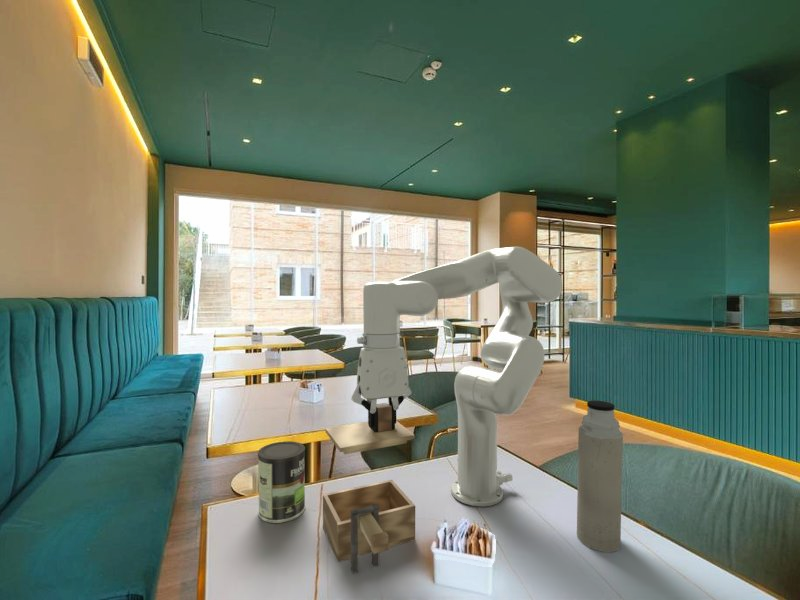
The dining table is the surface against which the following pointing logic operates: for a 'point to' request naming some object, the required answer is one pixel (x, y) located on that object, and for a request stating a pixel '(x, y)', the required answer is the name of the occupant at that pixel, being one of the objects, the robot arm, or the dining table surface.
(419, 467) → the dining table surface
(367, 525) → the tan rectangular block
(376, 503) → the wooden box
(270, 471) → the coffee can
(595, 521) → the thermos bottle
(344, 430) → the lid
